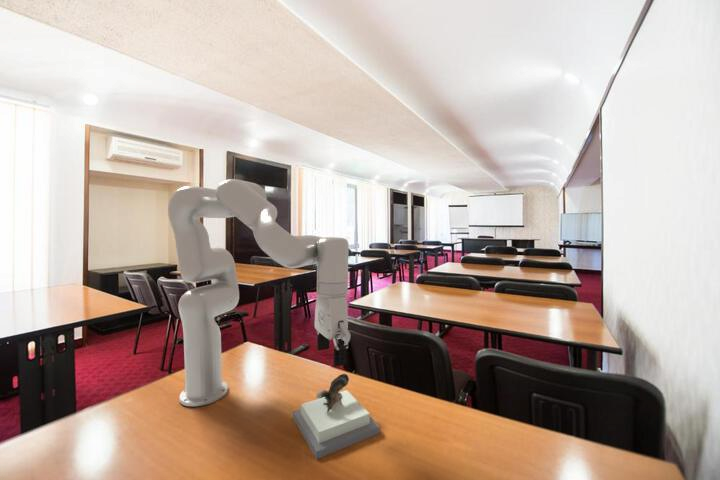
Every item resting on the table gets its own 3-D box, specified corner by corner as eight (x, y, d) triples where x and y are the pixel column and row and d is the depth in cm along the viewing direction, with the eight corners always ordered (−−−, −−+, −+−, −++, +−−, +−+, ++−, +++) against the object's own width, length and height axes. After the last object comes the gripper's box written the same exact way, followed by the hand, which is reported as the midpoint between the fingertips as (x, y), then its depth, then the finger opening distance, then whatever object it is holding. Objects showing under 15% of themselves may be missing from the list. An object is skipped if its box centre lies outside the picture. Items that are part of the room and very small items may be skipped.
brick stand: (292, 420, 77) (292, 401, 77) (348, 402, 85) (348, 385, 85) (316, 463, 64) (316, 440, 63) (379, 436, 72) (379, 416, 71)
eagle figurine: (351, 410, 72) (355, 383, 80) (334, 387, 71) (340, 363, 79) (325, 422, 73) (332, 395, 82) (308, 400, 72) (317, 375, 81)
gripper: (305, 282, 79) (304, 346, 80) (333, 297, 64) (332, 375, 65) (331, 280, 83) (330, 341, 84) (363, 294, 68) (362, 368, 69)
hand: (331, 356), depth 74 cm, fingers open, 9 cm apart
